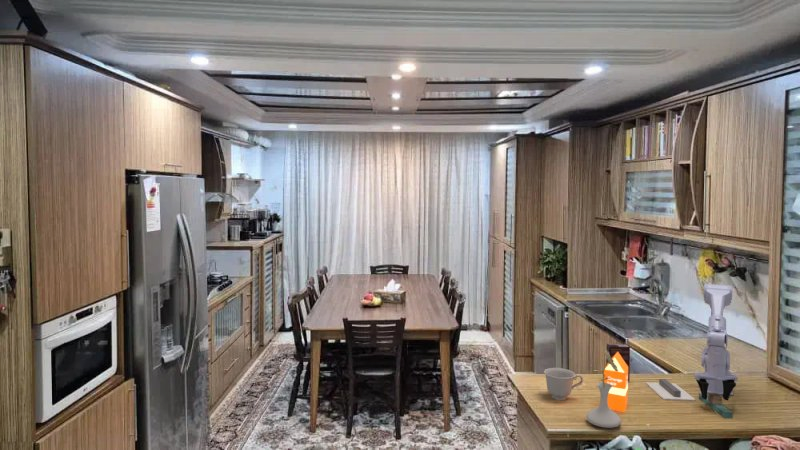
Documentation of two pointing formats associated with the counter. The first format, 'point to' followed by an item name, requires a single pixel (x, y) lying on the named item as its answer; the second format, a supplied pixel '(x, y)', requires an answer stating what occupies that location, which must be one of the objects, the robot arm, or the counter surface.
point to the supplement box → (623, 351)
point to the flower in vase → (604, 404)
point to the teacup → (561, 382)
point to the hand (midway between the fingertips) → (715, 399)
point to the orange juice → (617, 384)
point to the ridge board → (667, 395)
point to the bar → (716, 404)
